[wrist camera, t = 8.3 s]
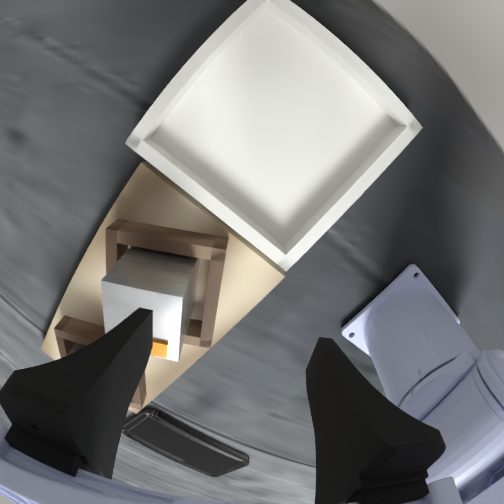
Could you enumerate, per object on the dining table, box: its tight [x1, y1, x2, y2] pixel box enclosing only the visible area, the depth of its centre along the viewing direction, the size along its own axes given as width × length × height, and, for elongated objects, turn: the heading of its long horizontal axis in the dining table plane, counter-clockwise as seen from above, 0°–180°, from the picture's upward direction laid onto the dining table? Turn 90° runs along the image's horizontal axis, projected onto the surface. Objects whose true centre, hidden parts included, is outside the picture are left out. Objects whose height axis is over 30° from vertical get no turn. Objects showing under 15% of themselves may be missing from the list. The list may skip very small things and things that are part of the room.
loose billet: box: [101, 246, 201, 362], centre depth 18 cm, size 4×4×6 cm
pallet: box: [41, 161, 285, 414], centre depth 22 cm, size 12×22×3 cm, turn 139°
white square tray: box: [125, 0, 423, 271], centre depth 17 cm, size 13×13×2 cm
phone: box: [122, 408, 249, 477], centre depth 31 cm, size 8×1×15 cm
